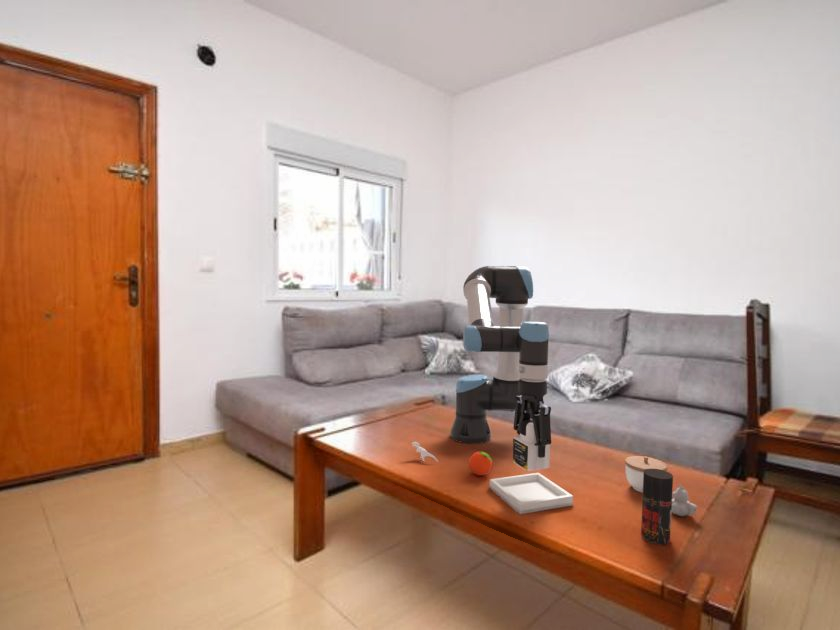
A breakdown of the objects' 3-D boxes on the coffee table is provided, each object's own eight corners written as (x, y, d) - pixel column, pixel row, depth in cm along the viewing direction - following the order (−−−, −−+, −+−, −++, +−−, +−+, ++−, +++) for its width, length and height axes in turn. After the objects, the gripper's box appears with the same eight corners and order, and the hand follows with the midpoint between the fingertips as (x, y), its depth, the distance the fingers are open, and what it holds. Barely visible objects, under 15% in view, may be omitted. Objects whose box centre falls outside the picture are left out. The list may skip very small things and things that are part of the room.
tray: (489, 487, 131) (489, 479, 131) (538, 480, 136) (538, 472, 136) (519, 514, 116) (519, 504, 116) (572, 505, 121) (573, 495, 121)
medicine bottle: (512, 462, 127) (513, 419, 127) (534, 459, 130) (535, 416, 129) (526, 471, 121) (528, 426, 120) (549, 468, 123) (550, 423, 122)
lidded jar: (649, 480, 138) (650, 449, 137) (674, 496, 127) (676, 463, 126) (616, 482, 136) (617, 451, 135) (639, 498, 125) (641, 465, 125)
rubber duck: (673, 507, 120) (675, 477, 120) (701, 517, 115) (702, 486, 115) (663, 513, 117) (665, 482, 117) (691, 524, 112) (692, 492, 111)
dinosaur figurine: (450, 470, 150) (454, 451, 150) (426, 476, 142) (429, 456, 141) (418, 453, 161) (421, 435, 160) (393, 458, 152) (396, 439, 151)
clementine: (499, 475, 140) (499, 452, 139) (485, 482, 135) (485, 458, 134) (478, 468, 145) (478, 445, 145) (464, 474, 140) (464, 451, 140)
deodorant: (638, 529, 109) (641, 467, 108) (666, 533, 108) (669, 470, 107) (643, 542, 104) (646, 476, 103) (672, 546, 102) (675, 480, 101)
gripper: (501, 373, 132) (500, 451, 133) (542, 387, 113) (540, 479, 114) (524, 372, 135) (522, 449, 136) (568, 386, 116) (565, 475, 117)
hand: (530, 462), depth 125 cm, fingers closed on medicine bottle, 7 cm apart
